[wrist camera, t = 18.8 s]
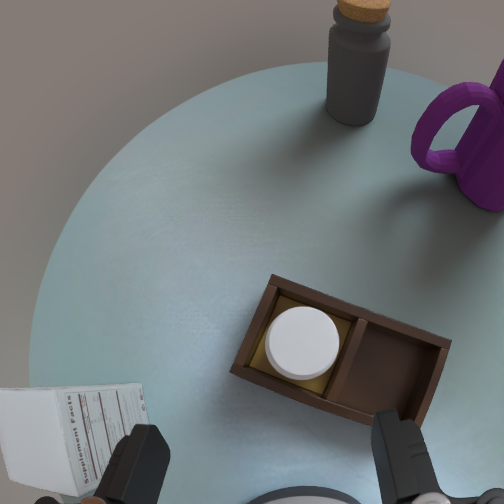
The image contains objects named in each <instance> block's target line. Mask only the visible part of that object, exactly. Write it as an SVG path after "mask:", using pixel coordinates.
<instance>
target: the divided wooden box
mask: <svg viewBox="0 0 504 504" xmlns="http://www.w3.org/2000/svg"><path fill="white" fill-rule="evenodd" d="M295 307H311V308H315V309H317V310H320V311H322V312H323V313H325V314H326V315H327V316H328V317H329V318H330V319H331V320H332V321H333V323H334V325H335V327H336V329H337V332H338V336H339V350H338V354H337V356H336V359H335V361H334V362H333V364H332V365H331V366H330V368H329V369H328V370H327V371H325V372H324V373H323V374H321V375H319V376H317V377H315V378H312V379H308V380H295V379H291V378H288V377H286V376H283V375H282V374H280V373H279V372H278V371H277V370H276V369H275V368H274V367H273V366H272V365H271V363H270V362H269V360H268V357H267V354H266V349H265V339H266V334H267V331H268V329H269V327H270V325H271V324H272V322H273V321H274V320H275V319H276V318H277V317H278V316H279V315H280V314H281V313H283V312H285V311H287V310H289V309H291V308H295ZM451 342H452V340H450V339H447V338H444V337H441V336H438V335H436V334H433V333H430V332H427V331H425V330H422V329H419V328H416V327H414V326H411V325H408V324H405V323H403V322H400V321H397V320H394V319H392V318H389V317H386V316H383V315H381V314H378V313H375V312H373V311H370V310H367V309H364V308H362V307H359V306H356V305H354V304H351V303H348V302H346V301H343V300H340V299H338V298H335V297H332V296H329V295H327V294H324V293H321V292H319V291H316V290H313V289H311V288H308V287H305V286H303V285H300V284H298V283H295V282H292V281H290V280H287V279H284V278H282V277H279V276H276V275H274V274H272V275H271V277H270V280H269V282H268V285H267V287H266V289H265V292H264V294H263V296H262V299H261V301H260V303H259V306H258V308H257V310H256V313H255V315H254V317H253V319H252V322H251V324H250V326H249V329H248V331H247V333H246V335H245V338H244V340H243V342H242V345H241V347H240V349H239V351H238V354H237V356H236V358H235V360H234V363H233V365H232V367H231V369H230V371H229V372H230V373H232V374H234V375H236V376H239V377H241V378H243V379H245V380H248V381H250V382H252V383H255V384H257V385H259V386H262V387H264V388H267V389H269V390H271V391H274V392H276V393H279V394H281V395H284V396H286V397H289V398H291V399H294V400H297V401H299V402H302V403H305V404H307V405H310V406H313V407H315V408H318V409H321V410H324V411H327V412H330V413H332V414H335V415H338V416H341V417H344V418H347V419H350V420H353V421H356V422H360V423H363V424H366V425H369V426H373V417H374V412H376V411H381V410H386V409H391V408H396V410H397V413H398V416H399V419H400V421H403V420H407V419H411V420H412V421H413V422H414V423H415V424H416V425H417V426H418V427H419V428H421V425H422V423H423V421H424V418H425V416H426V413H427V411H428V409H429V406H430V404H431V401H432V398H433V396H434V393H435V390H436V388H437V385H438V382H439V379H440V376H441V373H442V371H443V368H444V364H445V361H446V358H447V355H448V352H449V349H450V345H451Z"/></svg>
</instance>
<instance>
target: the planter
mask: <svg viewBox="0 0 504 504" xmlns="http://www.w3.org/2000/svg"><path fill="white" fill-rule="evenodd" d="M247 504H361V503H359V502H358V501H357V500H356V499H354V498H353V497H351V496H349V495H347V494H345V493H343V492H340V491H337V490H334V489H329V488H324V487H317V486H296V487H288V488H283V489H279V490H275V491H272V492H269V493H266V494H264V495H261V496H259V497H257V498H255V499H254V500H252V501H250V502H249V503H247Z"/></svg>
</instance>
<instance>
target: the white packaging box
mask: <svg viewBox="0 0 504 504" xmlns="http://www.w3.org/2000/svg"><path fill="white" fill-rule="evenodd" d="M135 424H149V420H148V415H147V410H146V405H145V400H144V395H143V389H142V385H141V383H122V384H104V385H87V386H61V387H28V388H0V446H1V450H2V454H3V458H4V462H5V466H6V469H7V472H8V475H9V478H10V480H11V481H14V482H17V483H20V484H23V485H27V486H30V487H34V488H38V489H42V490H46V491H50V492H54V493H59V494H64V495H69V496H74V497H80V496H82V495H84V494H86V493H88V492H90V491H92V490H94V489H96V488H98V485H99V483H100V481H101V478H102V476H103V474H104V471H105V469H106V467H107V465H108V464H109V460H110V458H111V456H112V453H113V451H114V449H115V446H116V444H117V443H118V442H119V441H120V440H121V439H122V438H123V437H124V436H125V435H129V436H130V433H131V431H132V429H133V427H134V425H135Z"/></svg>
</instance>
